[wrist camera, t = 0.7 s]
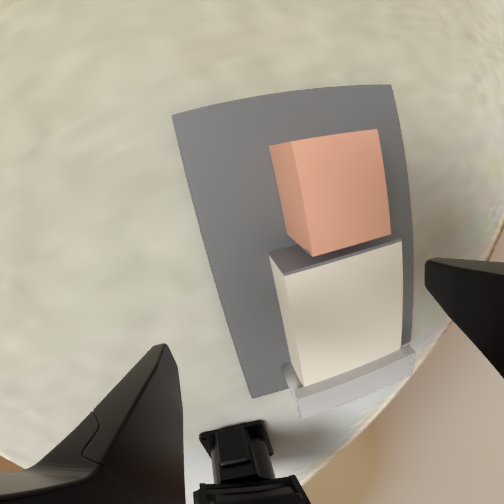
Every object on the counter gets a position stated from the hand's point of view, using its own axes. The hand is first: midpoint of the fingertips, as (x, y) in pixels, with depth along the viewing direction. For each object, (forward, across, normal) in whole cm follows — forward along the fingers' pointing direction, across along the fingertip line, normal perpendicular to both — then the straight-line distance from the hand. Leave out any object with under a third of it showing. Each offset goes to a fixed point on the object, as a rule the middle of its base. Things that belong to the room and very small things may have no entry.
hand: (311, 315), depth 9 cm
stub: (+12, -5, -2) cm, 13 cm away
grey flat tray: (+12, -5, +3) cm, 13 cm away
